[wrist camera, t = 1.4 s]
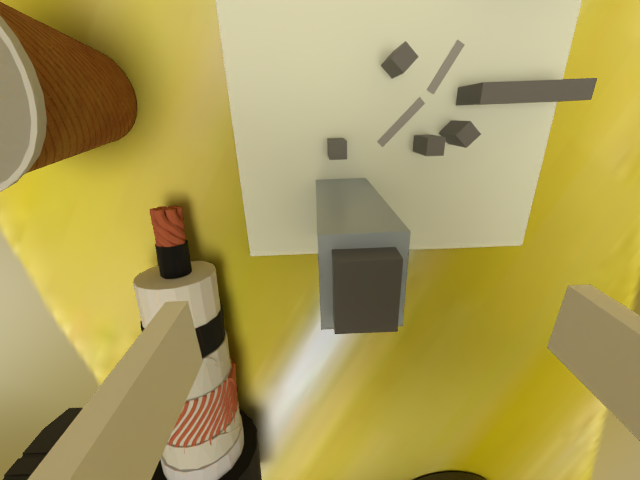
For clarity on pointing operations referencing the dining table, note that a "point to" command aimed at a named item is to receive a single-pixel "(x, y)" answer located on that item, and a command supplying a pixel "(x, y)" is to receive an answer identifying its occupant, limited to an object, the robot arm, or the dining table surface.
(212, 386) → the cable
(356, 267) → the block
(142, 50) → the dining table surface
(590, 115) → the dining table surface
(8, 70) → the disposable coffee cup
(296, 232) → the routing panel
